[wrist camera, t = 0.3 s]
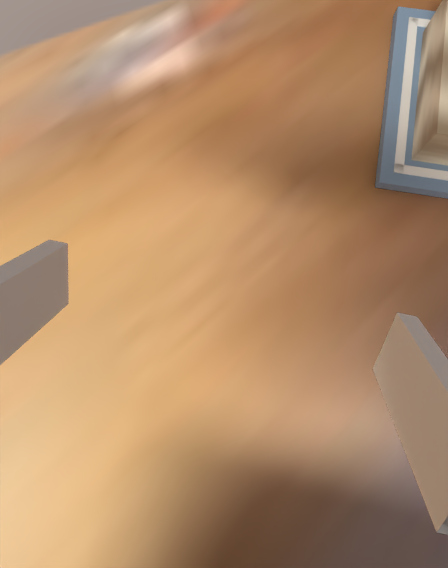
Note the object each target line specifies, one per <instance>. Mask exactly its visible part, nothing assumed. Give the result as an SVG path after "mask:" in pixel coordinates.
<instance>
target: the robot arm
mask: <svg viewBox="0 0 448 568" xmlns="http://www.w3.org/2000/svg"><path fill="white" fill-rule="evenodd" d="M66 305H68V244H67V243H63V242H58V241H53V240H48V241H46V242H44V243H42V244H40V245H39V246H37V247H35V248H33V249H31V250H29V251H27V252H26V253H24V254H22V255H20V256H18V257H16V258H14V259H13V260H11V261H9V262H7V263H5V264H3V265H1V266H0V365H1V364H2V363H3V362H4V361H5V360H7V359H8V358H9V357H10V356H11V355H12V354H13V353H14V352H15V351H16V350H18V349H19V348H20V347H21V346H22V345H23V344H24V343H25V342H26V341H28V340H29V339H30V338H31V337H32V336H33V335H34V334H35V333H36V332H38V331H39V330H40V329H41V328H42V327H43V326H44V325H45V324H46V323H48V322H49V321H50V320H51V319H52V318H53V317H54V316H55V315H56V314H58V313H59V312H60V311H61V310H62V309H63V308H64V307H65V306H66ZM373 372H374V374H375V377H376V380H377V382H378V385H379V387H380V390H381V392H382V395H383V397H384V400H385V402H386V405H387V408H388V410H389V413H390V415H391V418H392V420H393V423H394V425H395V428H396V431H397V433H398V436H399V438H400V441H401V443H402V446H403V448H404V451H405V453H406V456H407V459H408V461H409V464H410V466H411V469H412V471H413V474H414V476H415V479H416V482H417V484H418V487H419V489H420V492H421V494H422V497H423V499H424V502H425V504H426V507H427V510H428V512H429V515H430V517H431V520H432V522H433V525H434V527H435V530H436V532H437V533H441V534H445V535H448V359H447V357H446V356H445V355H444V353H443V352H442V350H441V349H440V348H439V346H438V345H437V344H436V342H435V341H434V339H433V338H432V337H431V335H430V334H429V332H428V331H427V330H426V328H425V327H424V326H423V324H422V323H421V321H420V320H419V319H418V317H417V316H412V315H407V314H403V313H398V312H397V313H396V316H395V318H394V320H393V323H392V325H391V327H390V330H389V332H388V334H387V337H386V339H385V341H384V344H383V346H382V348H381V351H380V353H379V355H378V358H377V360H376V362H375V365H374V367H373Z"/></svg>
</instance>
